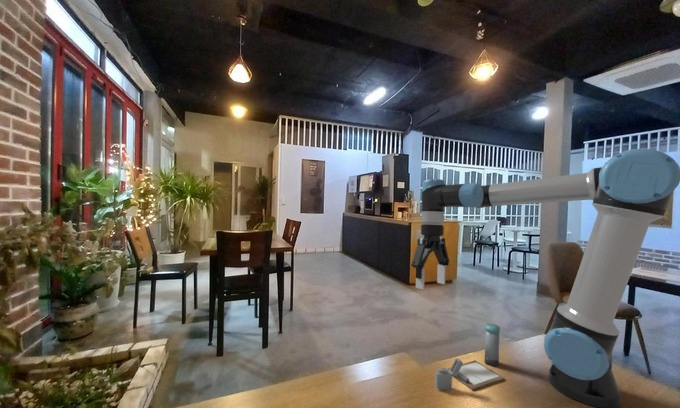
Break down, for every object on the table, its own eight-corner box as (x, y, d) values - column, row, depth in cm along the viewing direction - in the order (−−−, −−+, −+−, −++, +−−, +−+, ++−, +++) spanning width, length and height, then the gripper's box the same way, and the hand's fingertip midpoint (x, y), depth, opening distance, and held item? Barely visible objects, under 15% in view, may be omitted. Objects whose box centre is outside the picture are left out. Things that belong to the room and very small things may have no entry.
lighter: (436, 390, 77) (437, 360, 77) (434, 386, 78) (435, 357, 78) (462, 390, 77) (463, 361, 77) (459, 386, 79) (460, 357, 79)
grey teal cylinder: (502, 365, 90) (502, 327, 90) (493, 368, 88) (493, 329, 88) (490, 358, 94) (490, 322, 94) (481, 361, 92) (482, 324, 92)
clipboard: (504, 379, 82) (504, 374, 82) (472, 391, 77) (473, 385, 77) (475, 362, 91) (475, 357, 91) (445, 371, 86) (445, 365, 86)
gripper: (440, 224, 109) (439, 279, 107) (401, 222, 92) (399, 288, 91) (459, 225, 103) (458, 283, 102) (421, 223, 87) (420, 293, 85)
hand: (431, 285), depth 96 cm, fingers open, 13 cm apart
